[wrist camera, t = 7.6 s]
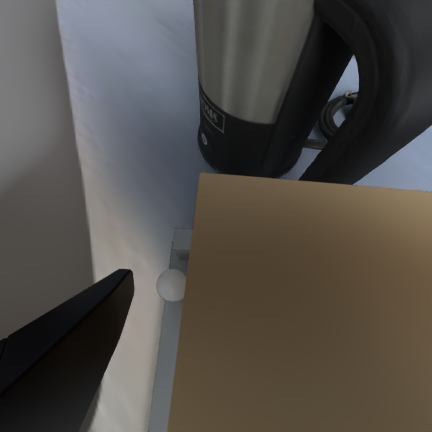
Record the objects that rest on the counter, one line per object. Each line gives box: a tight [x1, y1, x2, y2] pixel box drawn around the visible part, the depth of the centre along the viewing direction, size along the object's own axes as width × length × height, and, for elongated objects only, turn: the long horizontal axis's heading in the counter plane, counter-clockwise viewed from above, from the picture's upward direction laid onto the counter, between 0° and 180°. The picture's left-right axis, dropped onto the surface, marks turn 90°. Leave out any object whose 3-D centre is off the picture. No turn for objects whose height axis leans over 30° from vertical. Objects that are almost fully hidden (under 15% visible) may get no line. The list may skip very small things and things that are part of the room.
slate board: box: [148, 228, 192, 432], centre depth 13 cm, size 12×9×4 cm
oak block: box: [167, 172, 432, 432], centre depth 9 cm, size 6×4×12 cm
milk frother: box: [193, 0, 432, 185], centre depth 14 cm, size 14×16×15 cm
